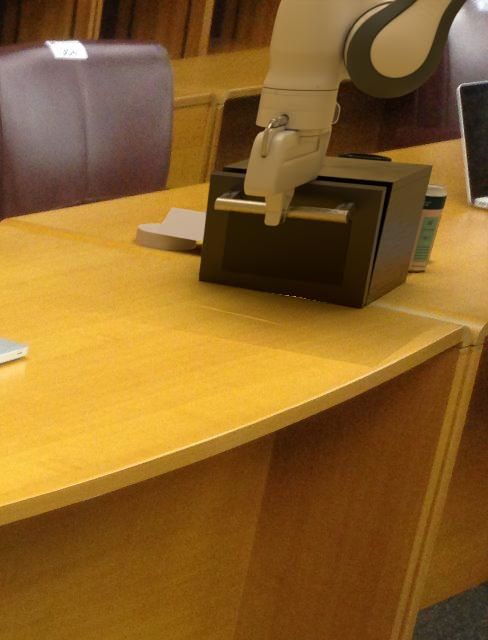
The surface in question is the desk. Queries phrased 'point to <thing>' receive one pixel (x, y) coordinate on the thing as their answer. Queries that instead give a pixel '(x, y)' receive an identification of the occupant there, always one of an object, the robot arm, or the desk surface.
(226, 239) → the oven door
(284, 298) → the desk surface
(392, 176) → the oven
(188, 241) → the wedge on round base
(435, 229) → the pink and green canister
